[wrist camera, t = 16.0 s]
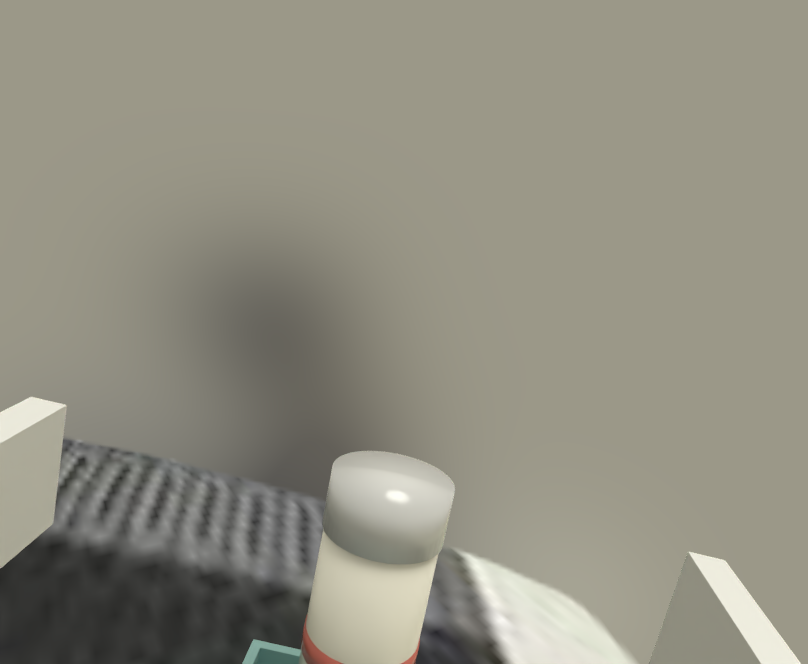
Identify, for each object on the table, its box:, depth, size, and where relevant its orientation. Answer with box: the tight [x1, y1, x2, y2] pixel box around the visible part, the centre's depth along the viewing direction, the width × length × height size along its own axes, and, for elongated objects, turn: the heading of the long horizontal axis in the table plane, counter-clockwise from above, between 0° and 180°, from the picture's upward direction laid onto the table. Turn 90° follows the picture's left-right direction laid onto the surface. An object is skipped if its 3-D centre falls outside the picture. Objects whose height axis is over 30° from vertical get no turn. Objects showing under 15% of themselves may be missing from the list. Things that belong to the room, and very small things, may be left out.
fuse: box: [298, 451, 455, 664], centre depth 29 cm, size 5×5×15 cm
